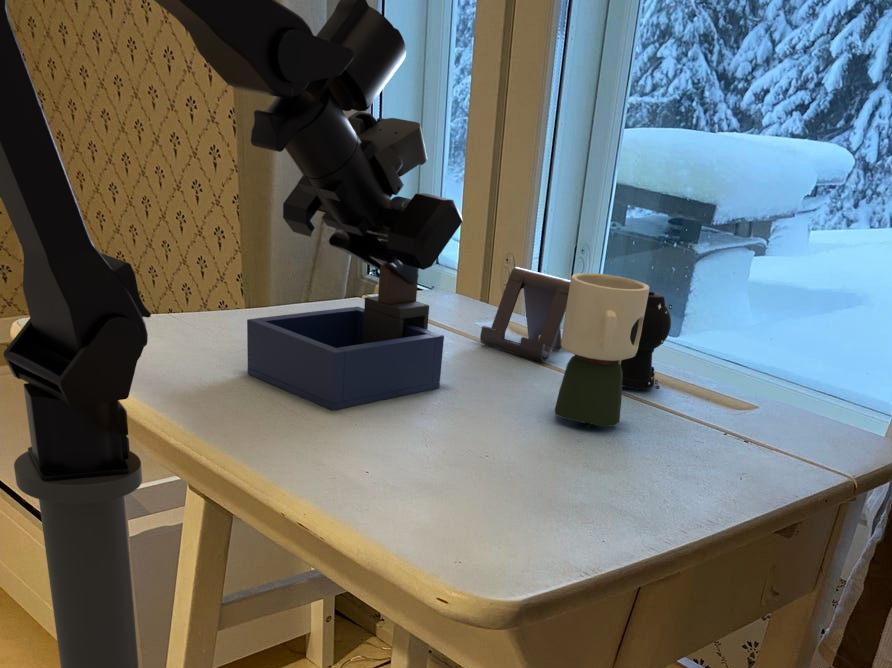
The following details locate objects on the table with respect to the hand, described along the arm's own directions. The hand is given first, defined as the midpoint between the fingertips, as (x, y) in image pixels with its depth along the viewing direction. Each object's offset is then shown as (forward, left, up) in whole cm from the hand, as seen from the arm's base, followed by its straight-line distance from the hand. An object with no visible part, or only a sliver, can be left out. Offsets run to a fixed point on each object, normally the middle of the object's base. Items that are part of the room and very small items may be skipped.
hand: (408, 278), depth 96 cm
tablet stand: (+20, +6, -9) cm, 22 cm away
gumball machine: (+24, -9, -9) cm, 27 cm away
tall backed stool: (-1, 0, -7) cm, 7 cm away
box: (-7, -2, -9) cm, 12 cm away
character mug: (+11, -18, -9) cm, 23 cm away
